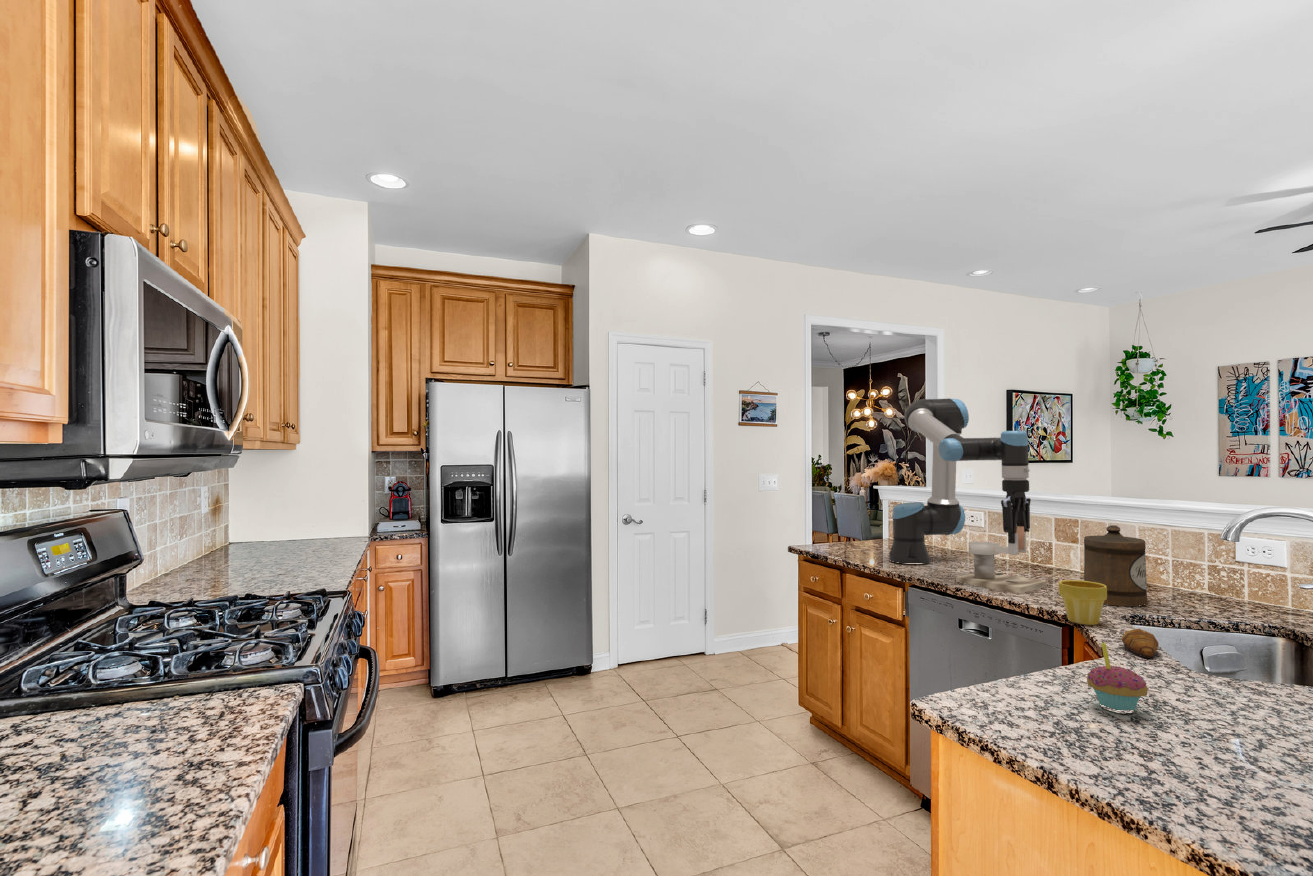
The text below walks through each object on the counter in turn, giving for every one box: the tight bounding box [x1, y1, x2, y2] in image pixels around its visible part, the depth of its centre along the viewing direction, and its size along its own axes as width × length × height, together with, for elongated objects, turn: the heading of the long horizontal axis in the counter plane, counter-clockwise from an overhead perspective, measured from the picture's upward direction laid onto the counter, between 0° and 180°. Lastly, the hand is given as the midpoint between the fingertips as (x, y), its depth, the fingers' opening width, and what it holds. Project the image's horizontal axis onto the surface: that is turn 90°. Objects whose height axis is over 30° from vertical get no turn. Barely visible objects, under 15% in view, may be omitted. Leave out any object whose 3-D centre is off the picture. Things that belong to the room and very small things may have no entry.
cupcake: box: [1086, 638, 1149, 711], centre depth 110 cm, size 9×8×12 cm
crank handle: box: [968, 526, 1025, 556], centre depth 207 cm, size 18×9×10 cm, turn 33°
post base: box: [955, 554, 1048, 595], centre depth 209 cm, size 21×16×10 cm
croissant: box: [1120, 628, 1159, 659], centre depth 141 cm, size 14×7×5 cm, turn 156°
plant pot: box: [1058, 579, 1107, 626], centre depth 164 cm, size 10×10×10 cm
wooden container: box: [1083, 524, 1148, 607], centre depth 185 cm, size 15×15×22 cm
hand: (1017, 552), depth 202 cm, fingers closed on crank handle, 4 cm apart
